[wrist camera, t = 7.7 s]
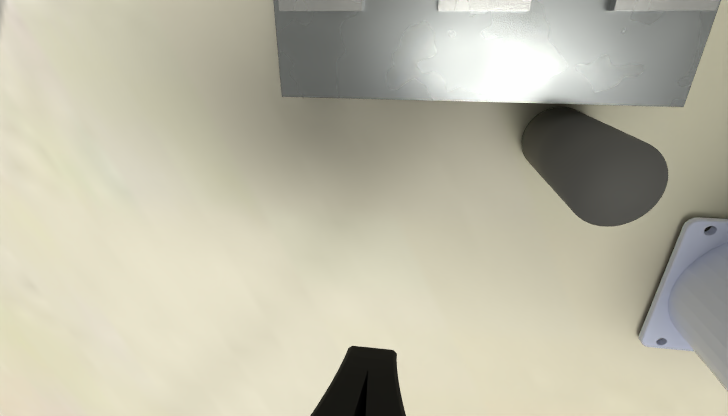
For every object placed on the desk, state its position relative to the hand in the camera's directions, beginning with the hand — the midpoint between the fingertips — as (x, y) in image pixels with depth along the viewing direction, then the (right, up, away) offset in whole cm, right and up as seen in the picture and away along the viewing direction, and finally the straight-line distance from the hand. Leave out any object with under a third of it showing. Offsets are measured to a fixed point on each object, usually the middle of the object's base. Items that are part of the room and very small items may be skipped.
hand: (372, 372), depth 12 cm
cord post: (+9, +8, +6) cm, 13 cm away
